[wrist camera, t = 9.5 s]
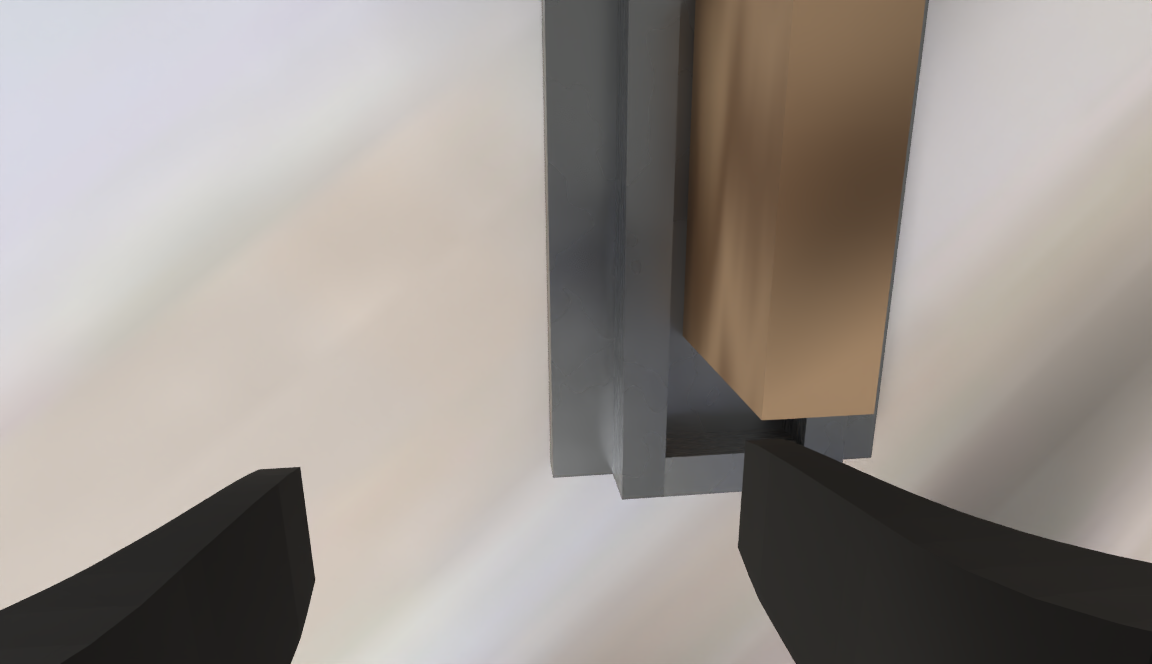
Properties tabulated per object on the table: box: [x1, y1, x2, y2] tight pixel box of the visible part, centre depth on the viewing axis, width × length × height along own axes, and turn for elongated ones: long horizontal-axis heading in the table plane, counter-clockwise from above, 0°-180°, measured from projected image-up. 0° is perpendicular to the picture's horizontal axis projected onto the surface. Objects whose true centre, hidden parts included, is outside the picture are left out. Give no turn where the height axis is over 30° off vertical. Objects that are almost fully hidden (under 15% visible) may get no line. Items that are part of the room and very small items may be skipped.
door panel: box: [683, 0, 926, 420], centre depth 16 cm, size 9×2×6 cm, turn 0°
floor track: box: [542, 0, 929, 499], centre depth 18 cm, size 18×10×2 cm, turn 0°
